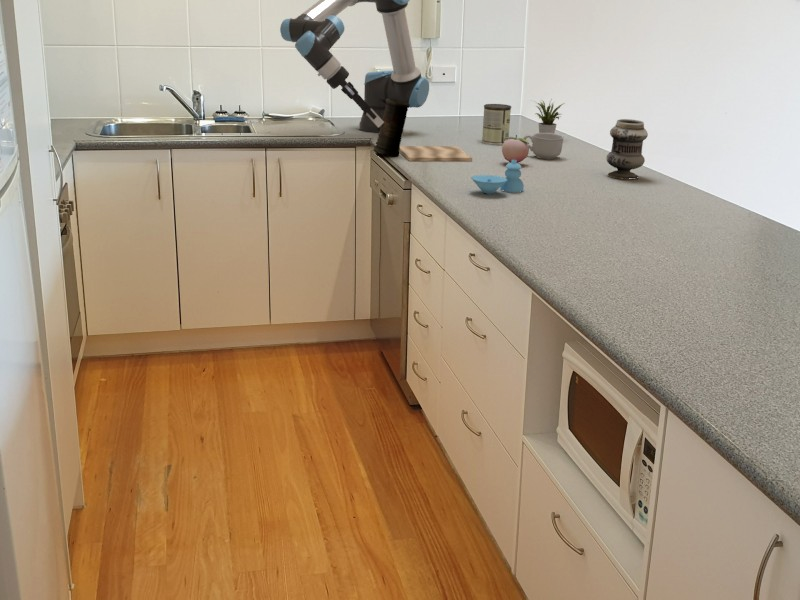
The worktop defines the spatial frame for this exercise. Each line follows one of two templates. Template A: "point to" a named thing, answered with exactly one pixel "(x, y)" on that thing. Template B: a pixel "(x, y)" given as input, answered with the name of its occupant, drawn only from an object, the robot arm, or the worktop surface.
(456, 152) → the wooden cutting board
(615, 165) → the apothecary jar
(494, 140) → the coffee can
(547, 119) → the house plant
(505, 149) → the decorative fruit
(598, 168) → the worktop surface
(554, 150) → the teacup
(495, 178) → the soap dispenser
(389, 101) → the container
